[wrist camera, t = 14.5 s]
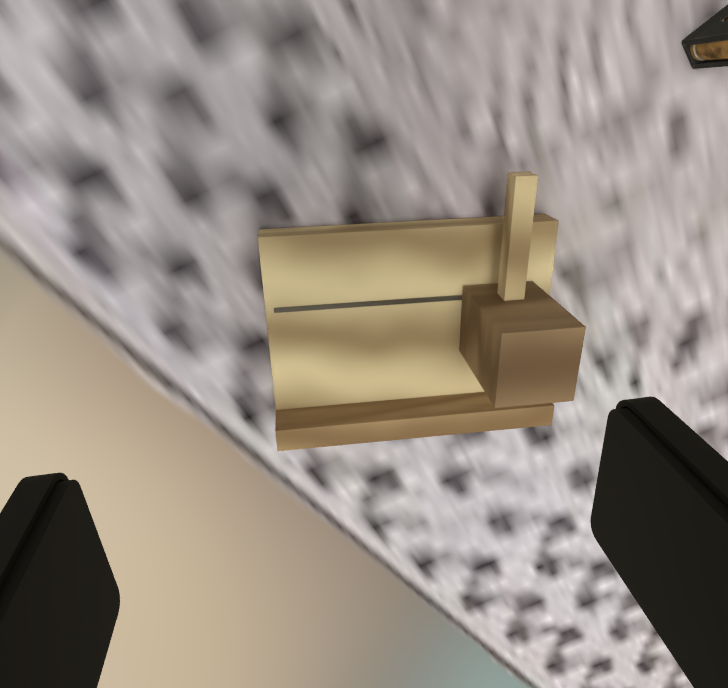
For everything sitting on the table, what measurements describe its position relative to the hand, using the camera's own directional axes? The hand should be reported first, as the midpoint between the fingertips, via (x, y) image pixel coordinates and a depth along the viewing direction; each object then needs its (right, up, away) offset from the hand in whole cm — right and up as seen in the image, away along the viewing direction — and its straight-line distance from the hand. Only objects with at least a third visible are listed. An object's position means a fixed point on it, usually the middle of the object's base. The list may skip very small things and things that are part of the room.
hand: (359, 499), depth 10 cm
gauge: (+8, +8, +25) cm, 27 cm away
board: (+3, +5, +28) cm, 28 cm away
